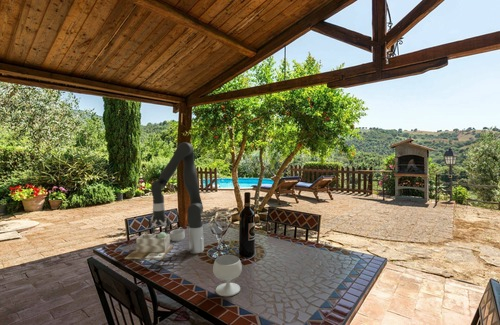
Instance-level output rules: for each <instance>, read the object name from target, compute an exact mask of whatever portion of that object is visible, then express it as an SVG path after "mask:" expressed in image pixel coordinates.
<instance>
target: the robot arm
mask: <svg viewBox="0 0 500 325" xmlns="http://www.w3.org/2000/svg"><path fill="white" fill-rule="evenodd" d="M194 154H195V153H194V147H193V145H192V144H191V143H189V142H185V141H184V142H181V143H179V144H178V146H177V147H176V149H175V152H174V153H173V155H172V157H171V159H170V160H169V162H168V163H166V166H164V168H163V170H161V172H160V174H159V178H157V180H154V181H153V182H152V183H151V185H150V191H151V194H152V199H153V200H152V217H149V218H148V228H149V227H150V228H151V234H155V232H156V229H155V228H156V227H155V226H156V225H162V226H163V227H164V232H165V233H166V234H167V232H168V231H169V230H168V227H170V226H171V219H170V217H169V216H168V217H166V215H165V214H166V211H165V207H166V206H165V197H164V194H163V193H162V190H164V188H165V187H166V185H167V184H168V183H169V181H170V179H171V178H172V176H173V175H174V174H175V172H176V170H177V168H178V166H179V164H180V163H181V161H183V172H182V173H183V174H182V177H183V183H184V186H185V189H186V191H187V193H188V196H189V200H190V205H189V206H187V210H186V213H187V215H186V216H187V224H188V242H189V243H188V244H189V245H188V246H189V253H190V254H200V253H201V254H202V253H203V252H204V251H205V241H204V240H205V236H204V229H203V228H204V226H203V221H202V213H203V211H204V206H203V202H202V199H201V195H200V186H199V181H198V180H199V179H198V173H197V167H196V165H195V155H194Z"/></svg>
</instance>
